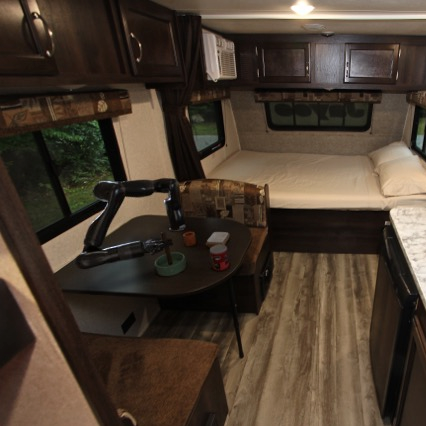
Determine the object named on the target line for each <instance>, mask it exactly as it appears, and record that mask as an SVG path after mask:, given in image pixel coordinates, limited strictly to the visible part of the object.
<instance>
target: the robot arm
mask: <svg viewBox="0 0 426 426" xmlns="http://www.w3.org/2000/svg"><path fill="white" fill-rule="evenodd" d="M153 194H168V195H169V197H167V198H165V199H164V200H163V205H164V208H165V212H166V217H167V221H168V225H169V230H170V232H179V231H183V230H185V229H187V224H186V219H185V213H184V209H183V204H182V194H181V187H180V183H179V181H178V180H177V179H176V178H169V177H161V178H157V179H133V180H125V181H108V180H102V181H99V182H97V183H96V184H95V185H94V186H93V188H92V195H93V196H94V197H95V198H96V199H97V200H99V201H101V202H107V203H106V206H105V207H104V210H103V211H102V212H101V213H100V214H99V215H98V216H97V217H96V218H95V219H94V220H93V221H92V222H91V223H90V225H89V226H88V228H87V230H86V233H85V235H84V238H83V242H82V244H83V248H82V251H81V253H80V254H78V255H77V256H76V257H75V258H74V261H73V262H74V265H75V267H76V268H77V269H80V270H89V269H92V268H97V267H100V266H103V265H110V264H114V263H120V262H123V261H129V260H133V259H138V258H142V257H145V254H150V256H154V255H156V254H159V253H160V252H162V251H164V248H165V247H168V246H169V247H172V246H174V241H173V238H167V241H168V242H164V243H163V241H162V237H150V238H148V240H147V241H145V242H142V240H136V241H132V242H127V243H123V244H119V245H116V246H111V247H107V248H104V249H102V248H103V245H104V243H105V239H106V237H107V234H108V231H109V228H110V227H111V224H112V222H113V220H114V219H115V217H116V216H117V214H118V212H119V210H120V208H121V207H122V204H123V203H124V201H125V199H126V198H135V199H136V198H137V199H139V198H147V197H151V196H152V195H153Z"/></svg>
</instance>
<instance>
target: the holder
mask: <svg viewBox="0 0 426 426" xmlns="http://www.w3.org/2000/svg"><path fill="white" fill-rule="evenodd" d="M183 240H184V244H185V245H184V246H187V247H190V246H194V245H196V244H197V238H196V233H195V232H194V231H187V232H184V233H183Z"/></svg>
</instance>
